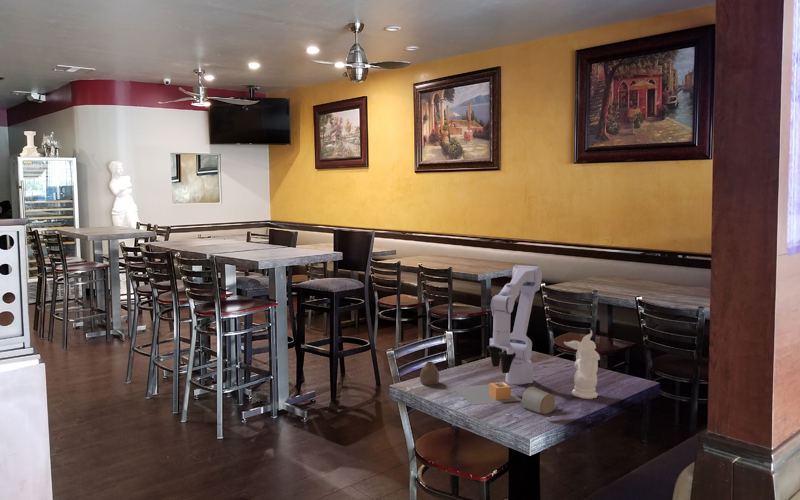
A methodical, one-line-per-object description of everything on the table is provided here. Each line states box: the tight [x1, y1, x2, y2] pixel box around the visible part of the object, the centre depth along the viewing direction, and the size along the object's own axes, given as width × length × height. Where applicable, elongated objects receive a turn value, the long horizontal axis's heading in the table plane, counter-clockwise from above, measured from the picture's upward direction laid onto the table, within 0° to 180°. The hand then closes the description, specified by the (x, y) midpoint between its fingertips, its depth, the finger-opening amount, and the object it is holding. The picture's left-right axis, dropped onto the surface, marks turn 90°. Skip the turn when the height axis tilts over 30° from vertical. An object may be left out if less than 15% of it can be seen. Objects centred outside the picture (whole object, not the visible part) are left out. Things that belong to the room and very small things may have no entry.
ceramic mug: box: [521, 386, 557, 415], centre depth 197 cm, size 11×8×8 cm
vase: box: [419, 361, 440, 387], centre depth 221 cm, size 7×7×9 cm
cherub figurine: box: [563, 329, 601, 400], centre depth 214 cm, size 12×12×22 cm
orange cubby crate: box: [488, 381, 512, 400], centre depth 207 cm, size 5×5×4 cm
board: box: [452, 384, 522, 406], centre depth 211 cm, size 18×18×1 cm
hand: (500, 369), depth 211 cm, fingers open, 7 cm apart
